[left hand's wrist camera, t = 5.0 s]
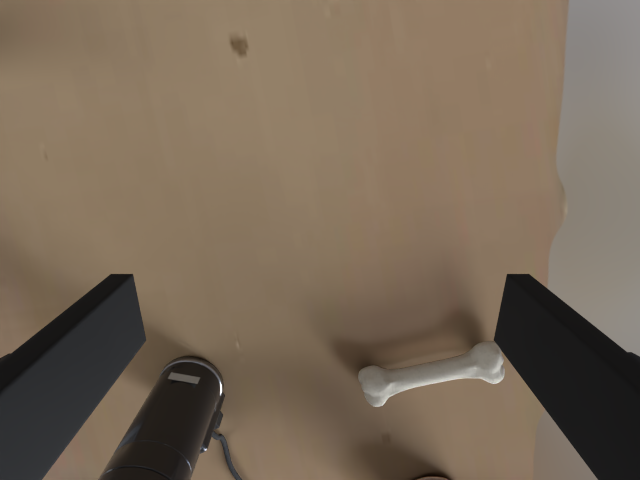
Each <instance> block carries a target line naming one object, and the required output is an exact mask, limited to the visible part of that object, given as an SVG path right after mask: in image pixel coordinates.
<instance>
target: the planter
mask: <svg viewBox="0 0 640 480" xmlns="http://www.w3.org/2000/svg"><path fill="white" fill-rule="evenodd" d="M416 480H448V479H446V478H443V477H438V476H427V477H421V478H418V479H416Z"/></svg>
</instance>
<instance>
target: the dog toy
mask: <svg viewBox="0 0 640 480" xmlns="http://www.w3.org/2000/svg"><path fill="white" fill-rule="evenodd" d="M503 360H504V359H503V357H502V355H501V349H500V348H499V346H498V345H497V344H496V343H495V342H494V341H486V342H481V343H478V344H476V345H475V346H474V347H473V348H472V349H471V350H470V351H468V352H466V353H465V354H463V355H460V356H456V357H452V358H448V359H444V360H439V361H434V362H429V363H424V364H420V365H415V366H410V367H405V368H400V369H384V368H381V367H379V366H376V365H372V366H368V367H365V368H363V369H361V370H360V372H359V374H358V379H359V382H360V383H361V385H362V390H363V391H364V396H365V398H366V400H367V401H368V403H369V404H371V405H372V406H375V407H380V406H382V405H383V404H384V403H385V402H386V400H387V399H388V398H389V397H390V396H393V395H395V394H397V393H399V392H401V391H404V390H407V389H410V388H414V387H419V386H424V385H429V384H434V383H438V382H443V381H448V380H454V379H461V378H481V379H483V380H485V381H487V382H489V383H492V384H495V383H498V382H500V381H501V380H502V379H503V378H504V366H503V365H502V363H503Z"/></svg>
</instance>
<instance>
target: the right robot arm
mask: <svg viewBox="0 0 640 480" xmlns="http://www.w3.org/2000/svg"><path fill="white" fill-rule="evenodd" d="M222 390H223V379H222V376H221V374H220V372H219V371H218V370H217V369H216V368H215V367H214V366H213V365H212V364H211V363H209V362H207V361H205V360H203V359H200V358H196V357H181V358H177V359H175V360H173V361H171V362H169V363H168V364H167V365H166V366H165V367H164V369H163V371H162V372H161V374H160V376H159V379H158V381H157V382H156V384H155V386H154V387H153V389H152V390H151V392H150V394H149V395H148V397H147V399H146V400H145V402H144V404H143V405H142V407H141V409H140V410H139V412H138V414H137V415H136V417H135V419H134V421H133V422H132V424H131V426H130V427H129V429H128V431H127V432H126V434H125V436H124V437H123V439H122V441H121V442H120V444H119V446H118V447H117V449H116V451H115V452H114V454H113V456H112V458H111V459H110V461H109V463H108V464H107V466H106V468H105V469H104V471H103V473H102V474H101V476H100V478H99V479H98V480H191V477H192V474H193V471H194V468H195V466H196V463H197V460H198V457H199V454H200V453H203V452H205V451H206V450H207V448H208V446H209V443H210V440H211V437H213V438H214V439H216V440H220V441H221V443H222V445H223V449H224V454H225V458H226V462H227V465H228V467H229V469H230V471H231V473H232V475H233V476H234V478H235V479H236V480H242V479H241V478H240V476H239V475H238V474H237V472H236V470H235V469H234V467H233V465H232V462H231V459H230V455H229V451H228V446H227V442H226V440H225V438H224V436H223V435H222V434H219V435H218V434H216V433H215V432H214V429H217V428H219V426H220V423H221V420H222V417H223V414H222V413H221V411H220V409H221V406H222V403H223V400H224V397H225V395H224V393H223V392H222Z"/></svg>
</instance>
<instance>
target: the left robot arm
mask: <svg viewBox="0 0 640 480" xmlns="http://www.w3.org/2000/svg"><path fill="white" fill-rule="evenodd" d="M145 341H146V337H145V332H144V327H143V322H142V317H141V312H140V307H139V302H138V297H137V292H136V287H135V282H134V277H133V274H111V275H109V276H108V277H107V278H106V279H104V280H103V281H102V282H101V283H99V284H98V285H97V286H96V287H94V288H93V289H92V290H90V291H89V292H88V293H87V294H85V295H84V296H83V297H82V298H80V299H79V300H78V301H77V302H75V303H74V304H73V305H72V306H70V307H69V308H68V309H67V310H65V311H64V312H63V313H62V314H60V315H59V316H58V317H57V318H55V319H54V320H53V321H52V322H50V323H49V324H48V325H47V326H45V327H44V328H43V329H42V330H40V331H39V332H38V333H36V334H35V335H34V336H33V337H31V338H30V339H29V340H28V341H26V342H25V343H24V344H23V345H21V346H20V347H19V348H18V349H16V350H15V351H14V352H13V353H11V354H7V355H5V356H4V357H2V358H0V480H42V479H43V477H44V476H45V475H46V473H47V472H48V471H49V469H50V468H51V467H52V465H53V464H54V463H55V461H56V460H57V459H58V457H59V456H60V455H61V453H62V452H63V451H64V449H65V448H66V447H67V445H68V444H69V443H70V441H71V440H72V439H73V437H74V436H75V435H76V433H77V432H78V431H79V429H80V428H81V427H82V425H83V424H84V423H85V421H86V420H87V419H88V417H89V416H90V415H91V413H92V412H93V411H94V409H95V408H96V407H97V405H98V404H99V403H100V401H101V400H102V399H103V397H104V396H105V395H106V393H107V392H108V391H109V389H110V388H111V387H112V385H113V384H114V383H115V381H116V380H117V379H118V377H119V376H120V375H121V373H122V372H123V370H124V369H125V368H126V366H127V365H128V364H129V362H130V361H131V360H132V358H133V357H134V356H135V354H136V353H137V352H138V350H139V349H140V348H141V346H142V345H143V344H144V342H145ZM494 341H495V342H496V344H497V345H498V346H499V348H500V349H501V350H502V352H503V353H504V354H505V356H506V357H507V358H508V360H509V361H510V362H511V364H512V365H513V366H514V368H515V369H516V371H517V372H518V373H519V375H520V376H521V377H522V379H523V380H524V381H525V383H526V384H527V385H528V387H529V388H530V389H531V391H532V392H533V393H534V395H535V396H536V397H537V399H538V400H539V401H540V403H541V404H542V405H543V407H544V408H545V409H546V411H547V412H548V413H549V415H550V416H551V417H552V419H553V420H554V421H555V422H556V424H557V425H558V427H559V428H560V429H561V431H562V432H563V433H564V435H565V436H566V437H567V439H568V440H569V441H570V443H571V444H572V445H573V447H574V448H575V449H576V451H577V452H578V453H579V455H580V456H581V457H582V459H583V460H584V461H585V463H586V464H587V465H588V467H589V468H590V469H591V471H592V472H593V473H594V475H595V476H596V477H597V479H598V480H640V357H639V356H637V355H636V354H634V353H632V352H626V351H625V350H624V349H622V348H621V347H620V346H619V345H617V344H616V343H615V342H614V341H612V340H611V339H610V338H609V337H607V336H606V335H605V334H604V333H602V332H601V331H600V330H598V329H597V328H596V327H595V326H593V325H592V324H591V323H590V322H588V321H587V320H586V319H585V318H583V317H582V316H581V315H580V314H578V313H577V312H576V311H575V310H573V309H572V308H571V307H570V306H568V305H567V304H566V303H565V302H563V301H562V300H561V299H560V298H558V297H557V296H556V295H555V294H553V293H552V292H551V291H550V290H548V289H547V288H546V287H544V286H543V285H542V284H541V283H539V282H538V281H537V280H536V279H534V278H533V277H532V276H531V275H529V274H507V277H506V282H505V287H504V292H503V297H502V302H501V307H500V312H499V317H498V322H497V327H496V332H495V337H494Z"/></svg>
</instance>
